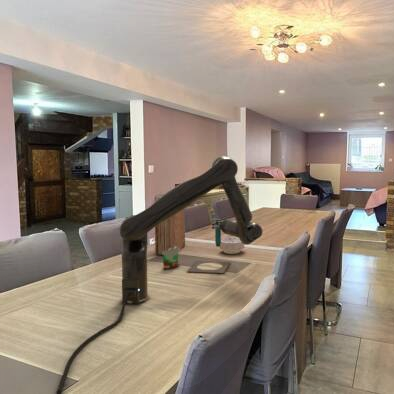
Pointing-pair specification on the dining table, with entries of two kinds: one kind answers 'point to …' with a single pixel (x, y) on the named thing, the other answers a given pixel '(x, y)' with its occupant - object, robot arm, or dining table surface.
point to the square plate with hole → (209, 267)
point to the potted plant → (170, 257)
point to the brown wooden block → (170, 233)
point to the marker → (217, 235)
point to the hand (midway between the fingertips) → (215, 222)
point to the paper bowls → (231, 245)
